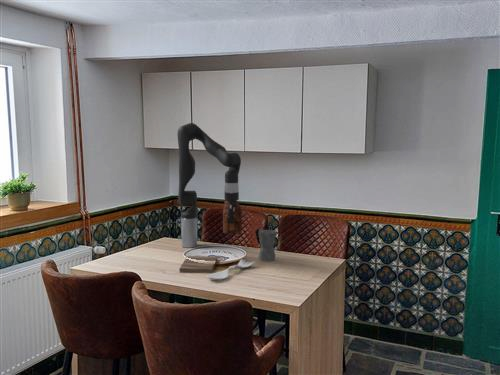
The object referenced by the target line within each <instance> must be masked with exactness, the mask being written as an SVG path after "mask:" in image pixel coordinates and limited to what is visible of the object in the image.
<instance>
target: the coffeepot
mask: <svg viewBox="0 0 500 375" xmlns="http://www.w3.org/2000/svg"><path fill="white" fill-rule="evenodd" d="M269 228H270V227H269V226H265V229H260V228H257V229H256V230H255V232H254V233H255V237H256V241H257V244H259V245H260V248H259V253H258V260H259V261H261V262H274V261H275V260H276V258H277V257H276V253H275V252H276V251H275V247H274V245H275V241H276V236H278V235H277V231H275V230H272V229H269Z"/></svg>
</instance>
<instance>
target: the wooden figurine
mask: <svg viewBox="0 0 500 375" xmlns="http://www.w3.org/2000/svg"><path fill="white" fill-rule="evenodd" d="M228 205H229V201H226V200H224V203H223V206H222V208H223V209H222V231H223V234H229V235H240V234H242V233H243V232H242V228H243V227H242V226H243V215H242V214H243V211H242V206H241V204H240V203H239V202H238V200H237V201H234V202H233V209H234V207H235V212H234V214H233V215H234V216H233V224H230V223H229V216H228ZM230 214H232V213H230Z"/></svg>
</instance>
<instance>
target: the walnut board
mask: <svg viewBox="0 0 500 375" xmlns="http://www.w3.org/2000/svg"><path fill="white" fill-rule="evenodd" d="M187 257H188V258H191V259H196V260H205V261H216V260H217V261H218V256H212V255H211V256H210V255H209V256H207V255H206V256H205V255H204V256H202V255H200V256H199V255H195V256H194V255H188V256H186V258H187ZM186 258H185V259H184V261H183V262H182V264H181V265H180V267H179V273H193V274H194V273H196V274H199V273H200V274H201V273H203V274H204V273H205V274H209V273H211V274H213V271H214V268H215V266H216V264H215V265H214V264H204V263H198V262H194V261H191V260H189V259H186Z"/></svg>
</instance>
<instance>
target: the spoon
mask: <svg viewBox="0 0 500 375" xmlns="http://www.w3.org/2000/svg"><path fill="white" fill-rule="evenodd" d="M256 263H257V261H256V260H255V261H247V260H245V259H243V258H241V259H240V261H239V262H238V263H237V264H233V265H230V266H229V267H228V268H226V269H224V270H220V271H218V272H215V273H211V274H208V275H207V276H206V277H207V278H208V279H210V280H215V281H220V280H224V279H227V278H229V276H230V270H234V269H235V268H239V269H246V268H249V267H250V266H253V265H255V264H256Z"/></svg>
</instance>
